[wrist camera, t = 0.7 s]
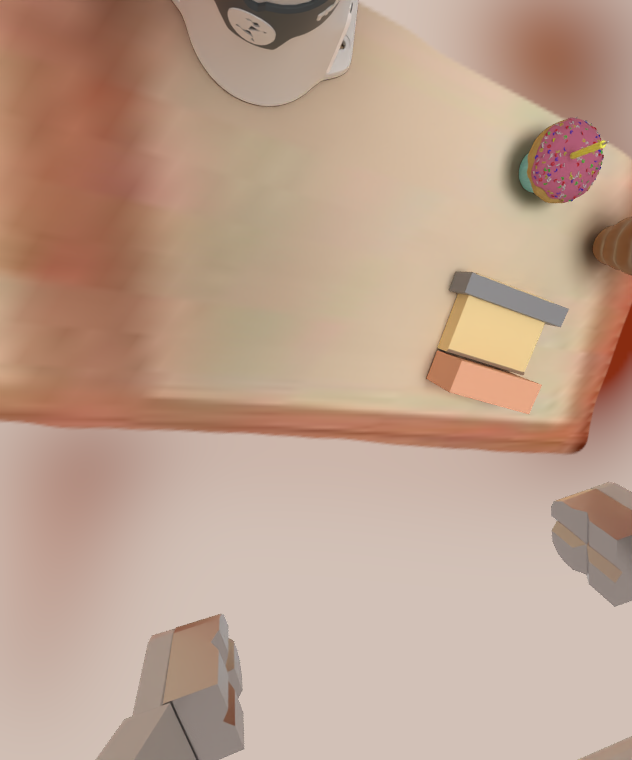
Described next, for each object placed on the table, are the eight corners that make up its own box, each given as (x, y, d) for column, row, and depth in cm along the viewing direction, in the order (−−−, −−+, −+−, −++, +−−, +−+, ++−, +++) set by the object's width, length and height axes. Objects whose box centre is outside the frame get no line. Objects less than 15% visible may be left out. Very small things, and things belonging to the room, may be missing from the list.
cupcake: (500, 207, 50) (580, 190, 39) (509, 129, 48) (596, 87, 36) (560, 208, 52) (654, 192, 40) (572, 132, 49) (674, 94, 38)
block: (437, 350, 53) (462, 360, 48) (510, 372, 56) (541, 385, 51) (426, 378, 54) (449, 392, 48) (499, 399, 57) (528, 414, 52)
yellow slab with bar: (456, 269, 51) (473, 269, 47) (548, 303, 55) (569, 306, 51) (428, 344, 53) (442, 350, 49) (518, 373, 57) (537, 380, 53)
